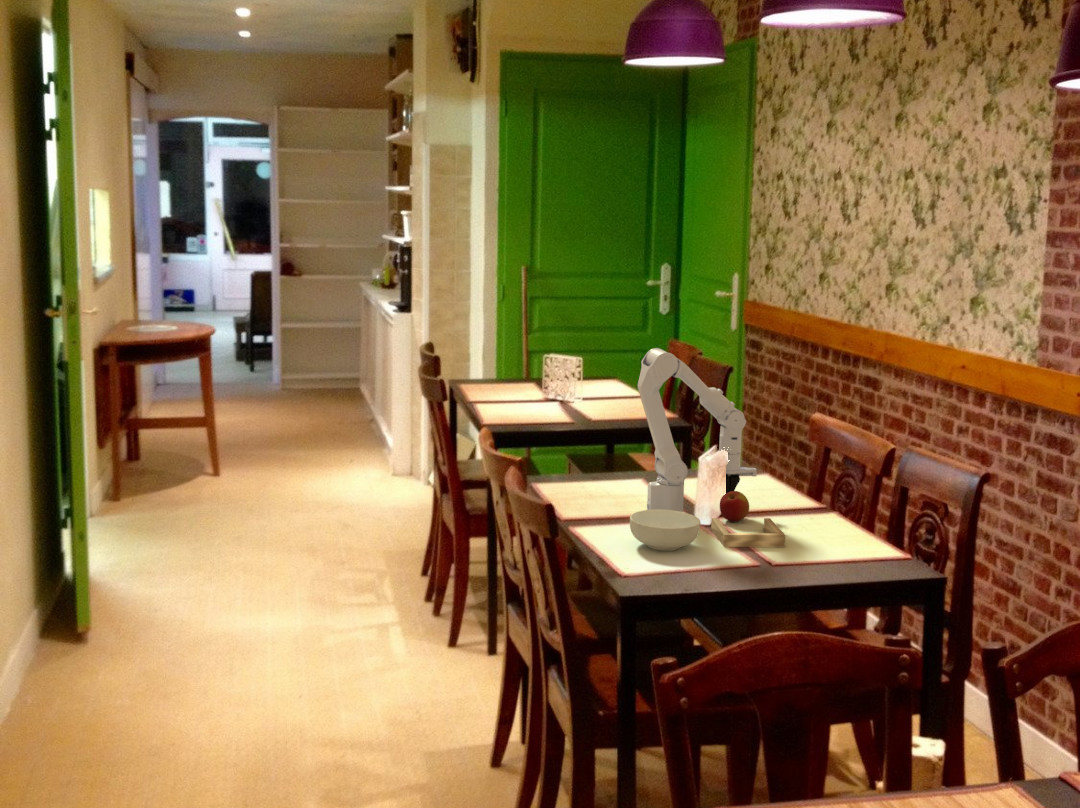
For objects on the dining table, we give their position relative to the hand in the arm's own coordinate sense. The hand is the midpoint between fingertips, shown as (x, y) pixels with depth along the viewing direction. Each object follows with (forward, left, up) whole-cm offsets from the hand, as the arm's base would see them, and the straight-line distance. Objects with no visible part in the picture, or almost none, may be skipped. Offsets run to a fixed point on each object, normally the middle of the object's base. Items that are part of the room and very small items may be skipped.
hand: (727, 502), depth 339 cm
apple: (0, -9, -3) cm, 9 cm away
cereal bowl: (-22, -32, -3) cm, 39 cm away
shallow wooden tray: (0, -24, -3) cm, 24 cm away
